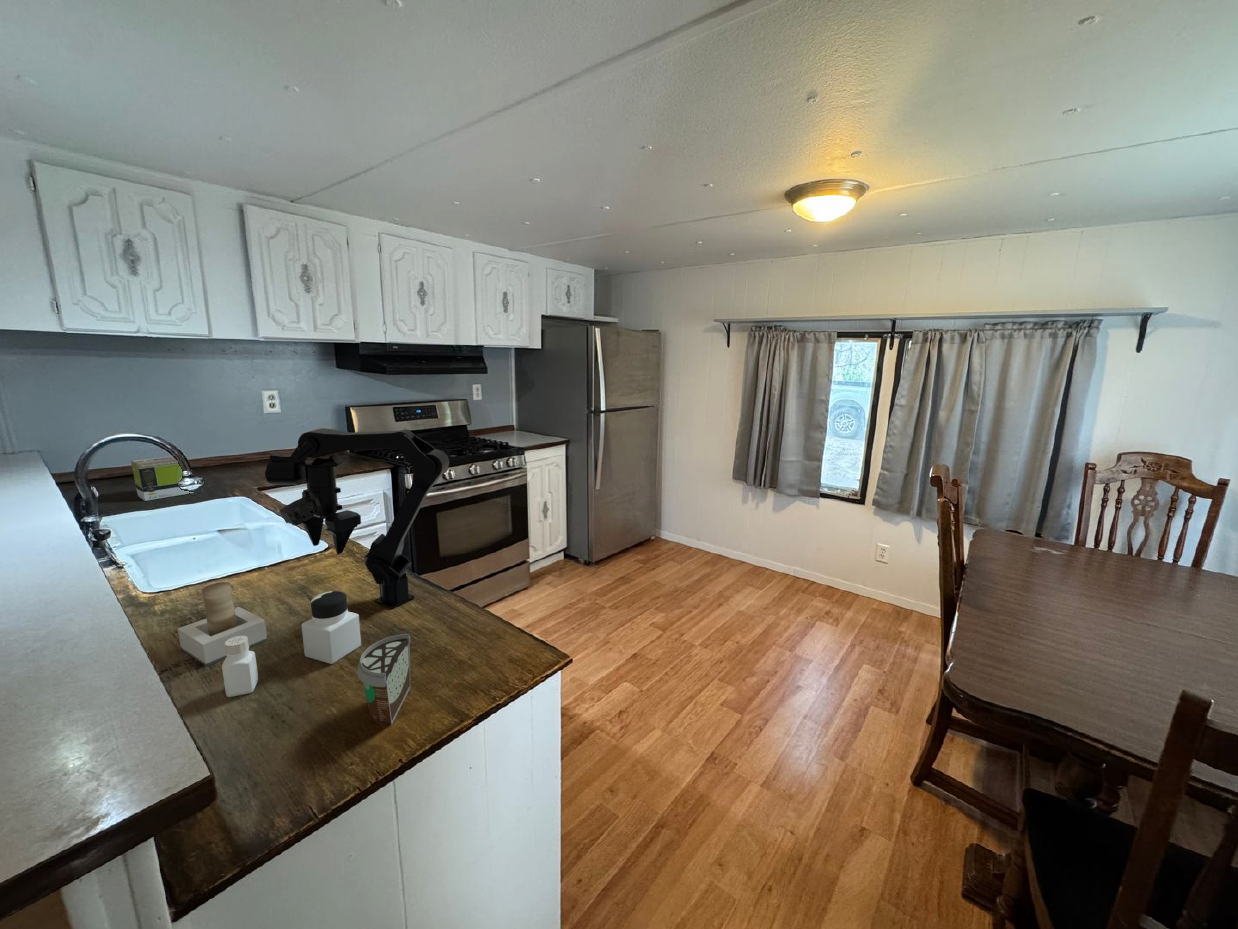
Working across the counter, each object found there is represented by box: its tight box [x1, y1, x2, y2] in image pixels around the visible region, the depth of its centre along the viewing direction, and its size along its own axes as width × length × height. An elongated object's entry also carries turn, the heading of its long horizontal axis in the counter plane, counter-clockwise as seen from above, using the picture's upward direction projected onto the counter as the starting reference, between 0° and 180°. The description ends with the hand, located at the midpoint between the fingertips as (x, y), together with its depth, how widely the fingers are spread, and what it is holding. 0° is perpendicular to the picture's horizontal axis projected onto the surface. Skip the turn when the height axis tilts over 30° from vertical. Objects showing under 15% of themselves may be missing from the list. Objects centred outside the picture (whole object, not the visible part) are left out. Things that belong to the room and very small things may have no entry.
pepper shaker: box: [221, 636, 259, 698], centre depth 86 cm, size 4×4×10 cm
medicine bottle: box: [301, 590, 362, 665], centre depth 98 cm, size 7×7×12 cm
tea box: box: [130, 455, 194, 502], centre depth 195 cm, size 15×10×15 cm, turn 144°
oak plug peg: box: [201, 581, 237, 636], centre depth 98 cm, size 4×4×12 cm
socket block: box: [177, 606, 268, 667], centre depth 99 cm, size 10×10×4 cm
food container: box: [356, 633, 412, 726], centre depth 83 cm, size 12×6×10 cm, turn 5°
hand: (327, 549), depth 116 cm, fingers open, 9 cm apart
